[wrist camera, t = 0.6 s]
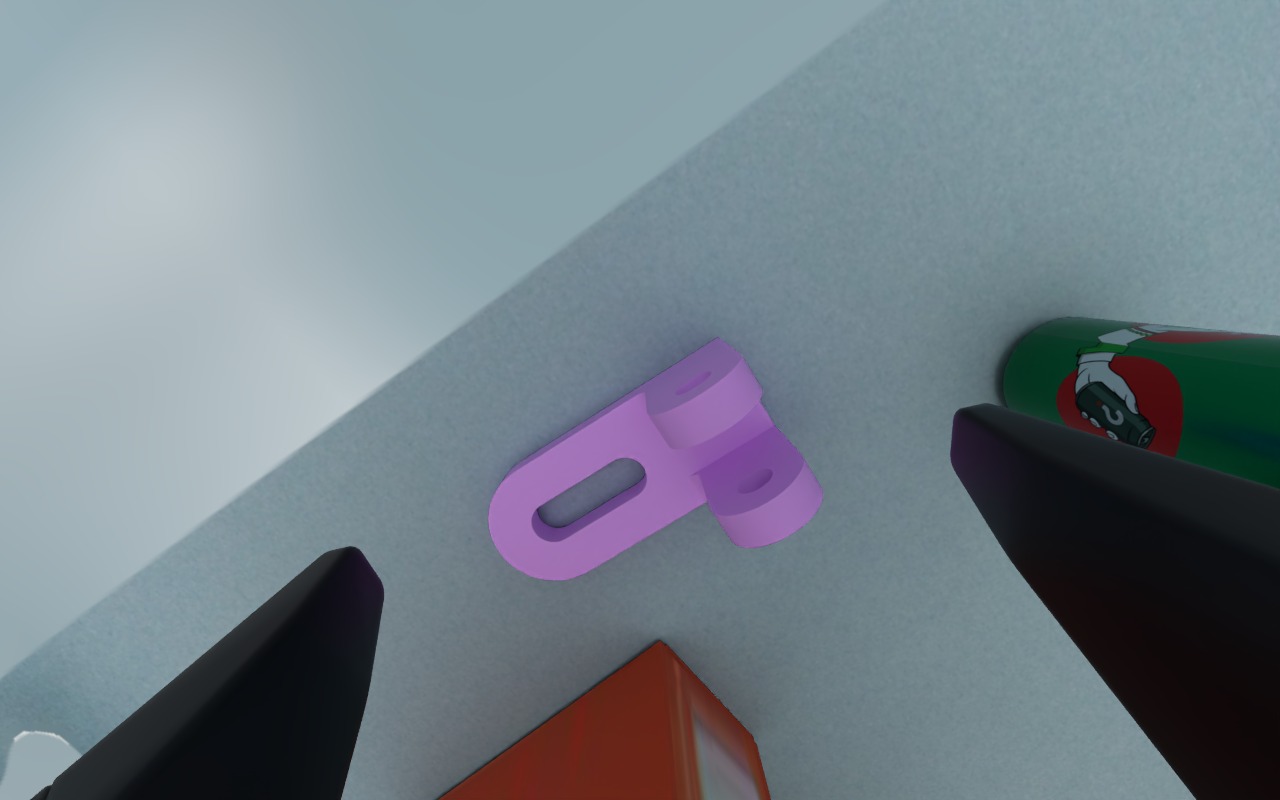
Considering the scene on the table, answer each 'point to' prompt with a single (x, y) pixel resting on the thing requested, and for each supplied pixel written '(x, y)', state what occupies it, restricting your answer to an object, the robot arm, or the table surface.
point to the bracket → (661, 470)
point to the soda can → (1157, 390)
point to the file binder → (631, 745)
